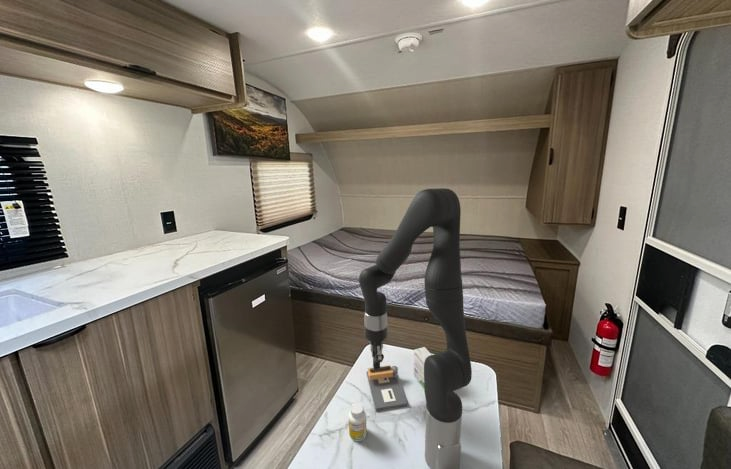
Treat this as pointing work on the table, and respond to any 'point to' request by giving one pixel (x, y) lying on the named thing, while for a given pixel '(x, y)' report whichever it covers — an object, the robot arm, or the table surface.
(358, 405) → the supplement bottle
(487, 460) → the table surface
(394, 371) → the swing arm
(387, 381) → the tray
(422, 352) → the ink box
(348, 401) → the table surface
